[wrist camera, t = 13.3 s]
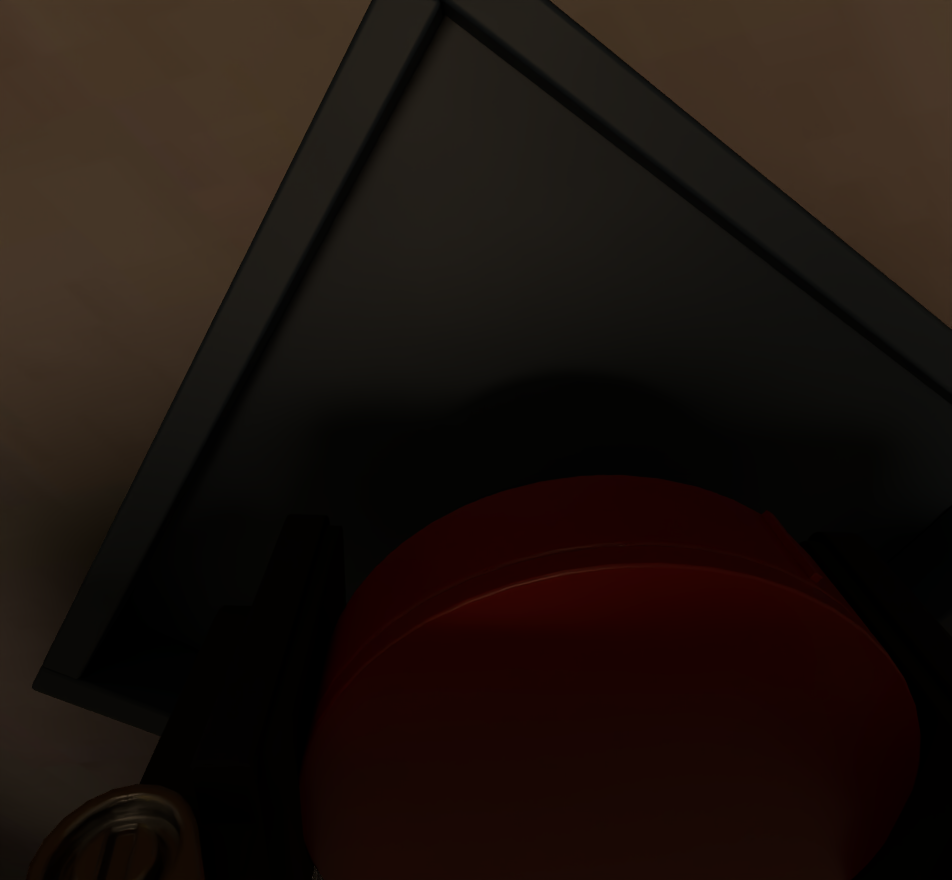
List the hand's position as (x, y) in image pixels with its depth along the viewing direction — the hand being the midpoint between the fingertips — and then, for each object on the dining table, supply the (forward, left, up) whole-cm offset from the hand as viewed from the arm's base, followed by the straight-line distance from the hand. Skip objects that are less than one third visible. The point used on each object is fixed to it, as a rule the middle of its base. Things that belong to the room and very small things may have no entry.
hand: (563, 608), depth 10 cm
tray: (0, 0, -2) cm, 2 cm away
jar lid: (0, 0, +3) cm, 3 cm away
